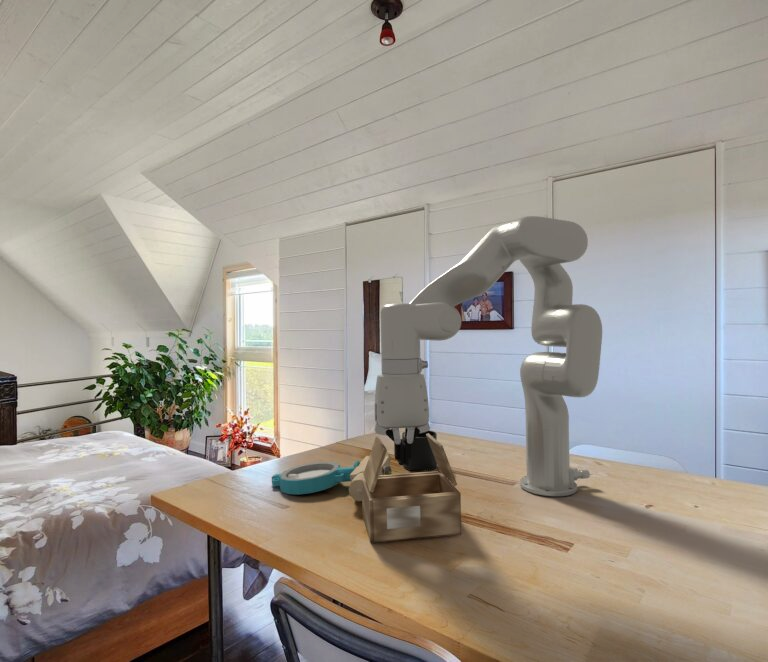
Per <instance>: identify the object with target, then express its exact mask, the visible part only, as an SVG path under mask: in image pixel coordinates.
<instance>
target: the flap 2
mask: <svg viewBox="0 0 768 662" xmlns="http://www.w3.org/2000/svg"><path fill="white" fill-rule="evenodd" d="M426 436H427V439H428V441H429V444H430V447H431V449H432V452H433V454H434V457H435V460H436V462H437V467H438V470H439V471H440V473H442V474H443V475H444V476H445V477H446V478H447V479H448V480H449V481H450V482H451V483H452V484H453V485H454V487H456V486H458V483H457V480H456V478H455V475H454V472H453V469H452V467H451V465H450V461H449V459H448V456H447V455H446V451H445V448H444V446H443V444H441V443H440V442H439V441H438V440H436V439H435V438H433V437H432V436H431V435H430V434H429V433H428V434H426Z"/></svg>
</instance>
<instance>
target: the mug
mask: <svg viewBox="0 0 768 662" xmlns="http://www.w3.org/2000/svg"><path fill="white" fill-rule="evenodd" d="M404 433H405V431H404V432H402V434H401V440H403V438H404ZM428 433H429V434H430V435H431V436H432V437H433V438H435V439H436V440H437V439H438V438H437V433H436V431H433V430H429V431H426V432H423V433H419V434H418V435H417V437H416V438H415V439H414V440H413V442H412V443H411V459H409V465H405V464H403V465H402V467H403V468H404V467H405V468H404V469H406V468H407V469H406V470H408V469H410V470H409V471H412V470H416V471H415V472H423V471H422V470H428V471H432V470H434V468H435V469H436V468H437V467H438V465H437V462H436V460H435V457H434V454H433V452H432V449H431V447H430V444H429V441H428V439H427V436H426V434H428ZM437 441H438V440H437ZM431 469H432V470H431Z"/></svg>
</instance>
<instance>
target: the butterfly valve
mask: <svg viewBox="0 0 768 662" xmlns="http://www.w3.org/2000/svg"><path fill="white" fill-rule="evenodd" d="M369 456H370V455H365V457H364V458H363V459H362V460H361V461H359V460H356V461H354V463H353V466H347V467H341V466H340V464H339V463H338V462H334V461H319V462H310V463H305V464H302V465H301V464H300V465H297V466H294V467H290V468H289V469H287V470H284V471H283V472H281V473H276V474H273V475H272V476H271V484H272V485H271V486H272V487H274V488H275V487H279V489H280V491H281V492H282V493H283V494H287V495H298V496H299V495H305V494H306V495H307V494H313V493H316V492H321V491H325V490H328V489H330V488H333V487H334V486H336V485H338V484H339V483H345V482H350V485H349V486H348V492H349V493H348V494H349V496H350V497H351V498H352V500H353V501H356V502H362V479H364V475H363V474H364V471H365V468H366V465H367V462H368V459H369ZM391 459H392V457H391V454H390V453H389V452H388V451H387V452H386V455H385V458H384V461H383V464H382V467H381V470H380V473H379V475H392V473H393V472H392V468H391V464H390V463H391Z"/></svg>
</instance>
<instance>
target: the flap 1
mask: <svg viewBox="0 0 768 662" xmlns="http://www.w3.org/2000/svg"><path fill="white" fill-rule="evenodd" d="M386 452H388V449H387V447H386V446H385V445H384V443H383V441H382V440H381V438H380V437H379V436H376V435H375V438H374V441H373V444H372V447H371V450H370V453H369V455H368V456H369V459H368V462H367V465H366V468H365V471H364V474H363V475H364V477H365V480H366V483H367V485H368V488H369V491H370V492H373V491H374V488H375V485H376V482H377V479H378V476H379V473H380V470H381V467H382V464H383V461H384V458H385V455H386Z"/></svg>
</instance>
